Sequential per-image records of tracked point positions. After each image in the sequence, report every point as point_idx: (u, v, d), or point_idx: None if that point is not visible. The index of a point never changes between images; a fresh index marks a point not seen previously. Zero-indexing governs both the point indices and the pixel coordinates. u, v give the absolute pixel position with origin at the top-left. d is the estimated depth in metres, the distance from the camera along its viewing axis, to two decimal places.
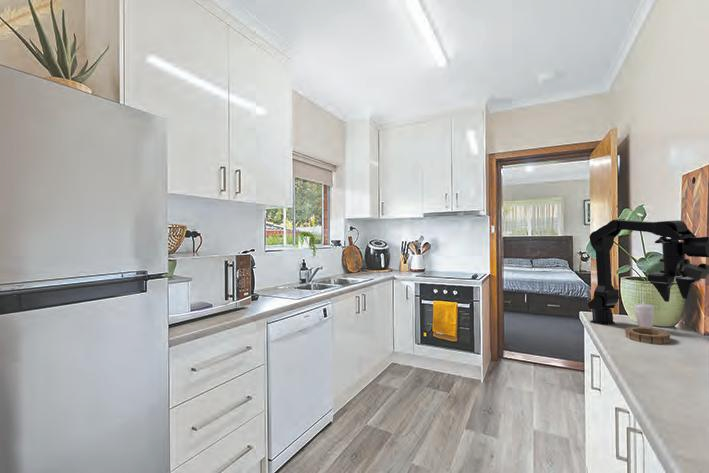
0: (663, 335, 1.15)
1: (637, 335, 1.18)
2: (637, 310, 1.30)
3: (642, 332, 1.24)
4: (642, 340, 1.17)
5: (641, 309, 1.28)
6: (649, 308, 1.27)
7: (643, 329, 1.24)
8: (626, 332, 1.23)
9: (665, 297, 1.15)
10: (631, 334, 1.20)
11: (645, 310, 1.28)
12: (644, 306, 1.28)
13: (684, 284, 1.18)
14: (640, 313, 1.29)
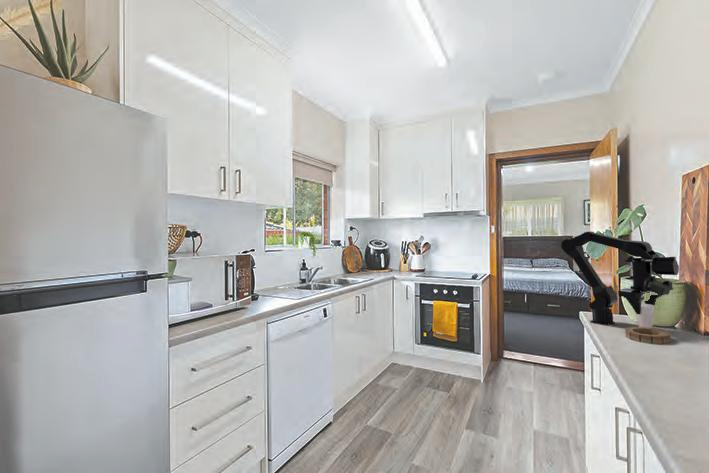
0: (663, 335, 1.15)
1: (637, 335, 1.18)
2: None
3: (642, 332, 1.24)
4: (642, 340, 1.17)
5: (641, 309, 1.28)
6: (649, 308, 1.27)
7: (643, 329, 1.24)
8: (626, 332, 1.23)
9: (636, 310, 1.29)
10: (631, 334, 1.20)
11: (645, 310, 1.28)
12: (644, 306, 1.28)
13: (649, 299, 1.31)
14: (640, 313, 1.29)
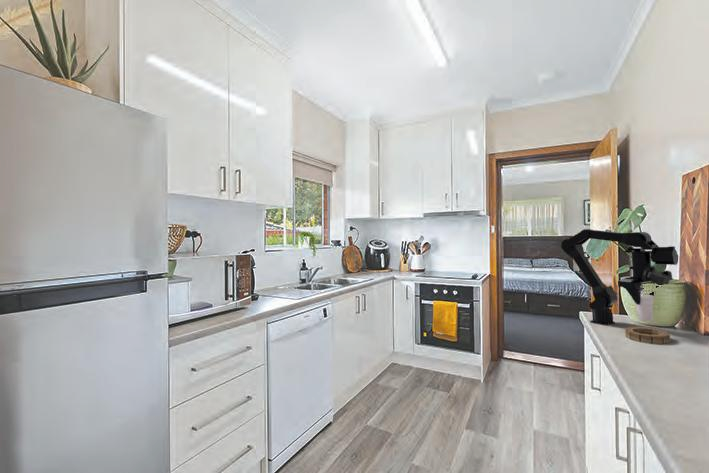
0: (663, 335, 1.15)
1: (637, 335, 1.18)
2: None
3: (642, 332, 1.24)
4: (642, 340, 1.17)
5: (641, 299, 1.28)
6: (649, 298, 1.27)
7: (643, 329, 1.24)
8: (626, 332, 1.23)
9: (636, 300, 1.29)
10: (631, 334, 1.20)
11: (645, 300, 1.28)
12: (644, 296, 1.28)
13: None
14: (640, 303, 1.29)
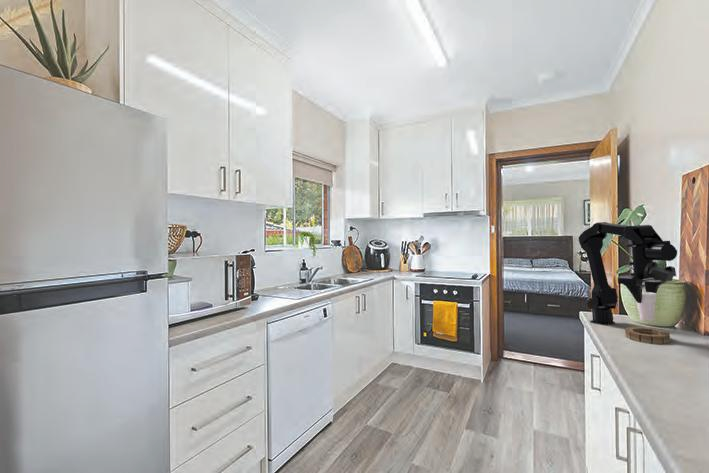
0: (663, 335, 1.15)
1: (637, 335, 1.18)
2: None
3: (642, 332, 1.24)
4: (642, 340, 1.17)
5: (642, 297, 1.19)
6: (651, 296, 1.18)
7: (643, 329, 1.24)
8: (626, 332, 1.23)
9: (637, 298, 1.20)
10: (631, 334, 1.20)
11: (647, 298, 1.19)
12: (645, 294, 1.19)
13: (651, 287, 1.22)
14: (641, 302, 1.20)
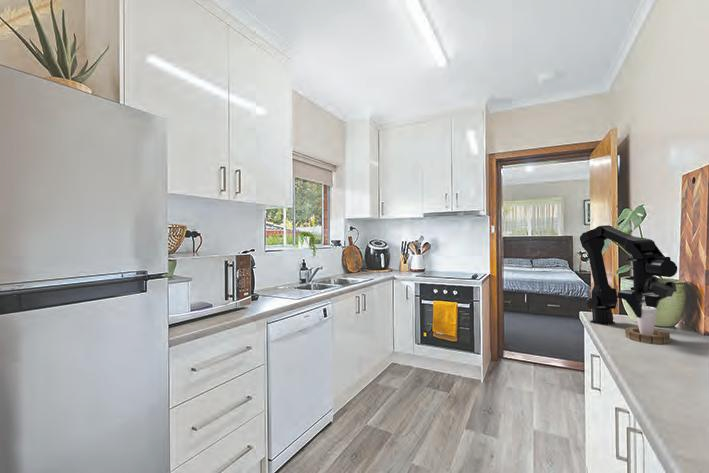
0: (663, 335, 1.15)
1: (637, 335, 1.18)
2: None
3: None
4: (642, 340, 1.17)
5: (642, 312, 1.19)
6: (651, 311, 1.18)
7: None
8: (626, 332, 1.23)
9: (637, 313, 1.20)
10: (631, 334, 1.20)
11: (646, 313, 1.18)
12: (645, 309, 1.19)
13: (651, 301, 1.22)
14: (641, 316, 1.20)
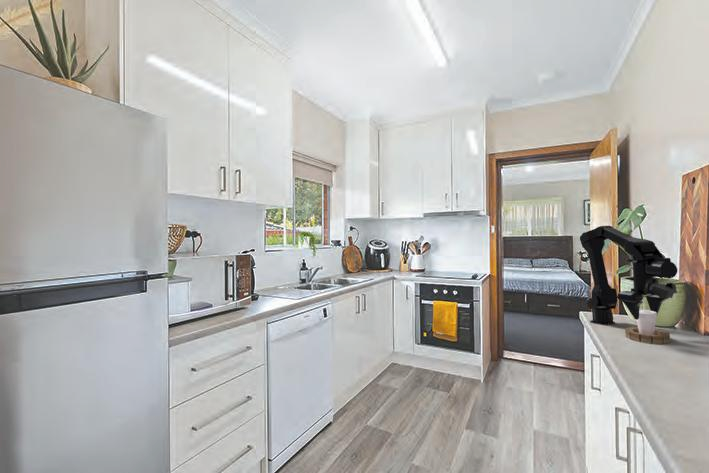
0: (663, 335, 1.15)
1: (637, 335, 1.18)
2: None
3: None
4: (642, 340, 1.17)
5: (642, 316, 1.19)
6: (651, 315, 1.18)
7: None
8: (626, 332, 1.23)
9: (635, 315, 1.19)
10: (631, 334, 1.20)
11: (646, 317, 1.18)
12: (645, 313, 1.19)
13: (654, 302, 1.22)
14: (641, 320, 1.20)
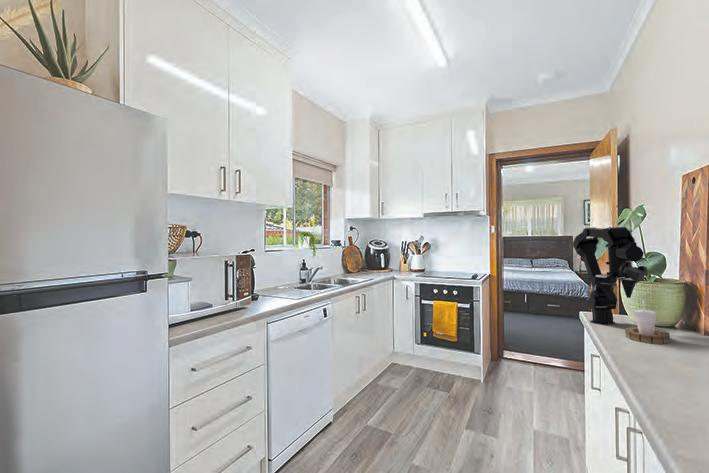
0: (663, 335, 1.15)
1: (637, 335, 1.18)
2: (637, 317, 1.21)
3: None
4: (642, 340, 1.17)
5: (642, 316, 1.19)
6: (650, 315, 1.18)
7: None
8: (626, 332, 1.23)
9: (609, 296, 1.28)
10: (631, 334, 1.20)
11: (646, 317, 1.18)
12: (645, 313, 1.19)
13: (628, 285, 1.31)
14: (641, 320, 1.20)
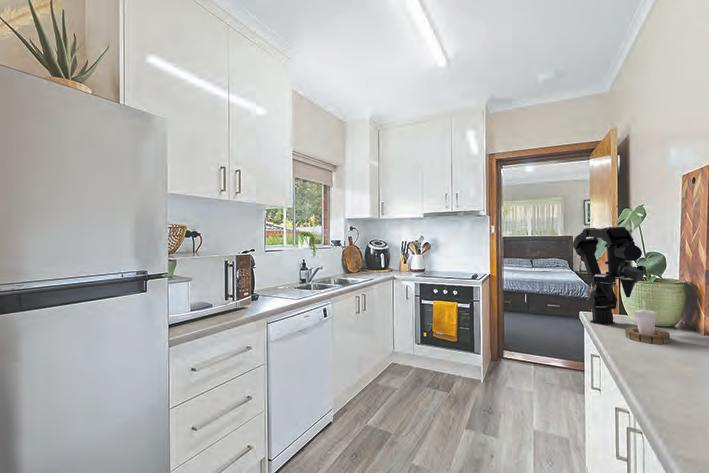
0: (663, 335, 1.15)
1: (637, 335, 1.18)
2: (638, 317, 1.21)
3: None
4: (642, 340, 1.17)
5: (642, 316, 1.19)
6: (651, 315, 1.18)
7: None
8: (626, 332, 1.23)
9: (608, 296, 1.28)
10: (631, 334, 1.20)
11: (646, 317, 1.18)
12: (645, 313, 1.19)
13: (627, 284, 1.31)
14: (641, 320, 1.20)
